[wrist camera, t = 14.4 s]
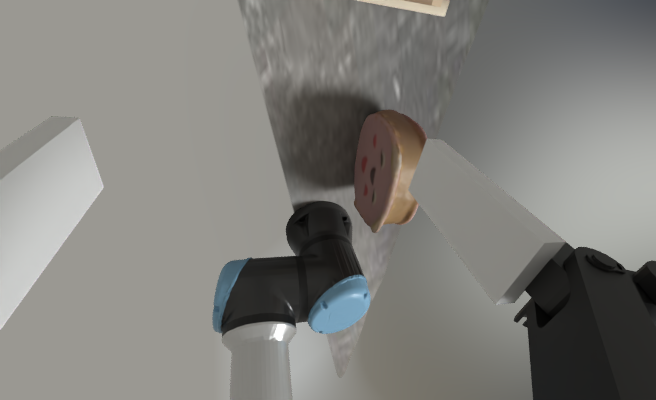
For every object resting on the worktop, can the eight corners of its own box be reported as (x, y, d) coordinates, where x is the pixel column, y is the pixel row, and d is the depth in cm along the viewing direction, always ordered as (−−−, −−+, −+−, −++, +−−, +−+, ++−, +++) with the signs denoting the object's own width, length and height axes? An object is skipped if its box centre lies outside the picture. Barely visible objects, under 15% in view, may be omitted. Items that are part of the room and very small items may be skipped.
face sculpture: (362, 100, 51) (399, 140, 38) (397, 101, 53) (445, 140, 40) (346, 192, 63) (371, 247, 50) (376, 191, 65) (407, 244, 52)
